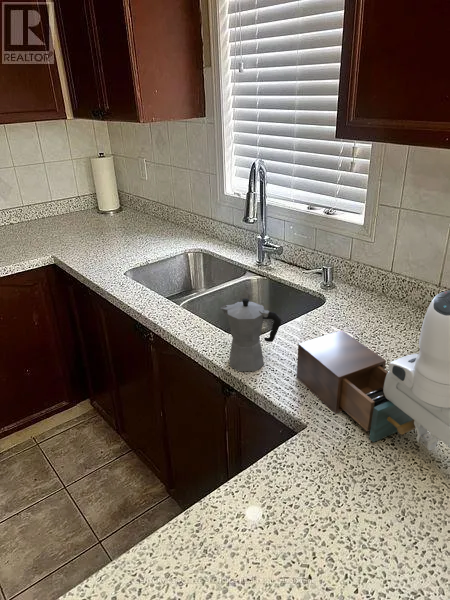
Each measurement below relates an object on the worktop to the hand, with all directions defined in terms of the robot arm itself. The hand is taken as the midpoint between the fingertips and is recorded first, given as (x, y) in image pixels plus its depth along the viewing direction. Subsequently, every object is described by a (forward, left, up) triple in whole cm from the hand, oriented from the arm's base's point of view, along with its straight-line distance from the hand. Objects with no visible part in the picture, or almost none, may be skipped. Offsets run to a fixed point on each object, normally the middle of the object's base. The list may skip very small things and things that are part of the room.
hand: (425, 444), depth 81 cm
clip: (0, -13, -2) cm, 13 cm away
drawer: (0, -12, -3) cm, 12 cm away
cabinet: (0, -25, -4) cm, 25 cm away
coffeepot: (+13, -43, -4) cm, 45 cm away
